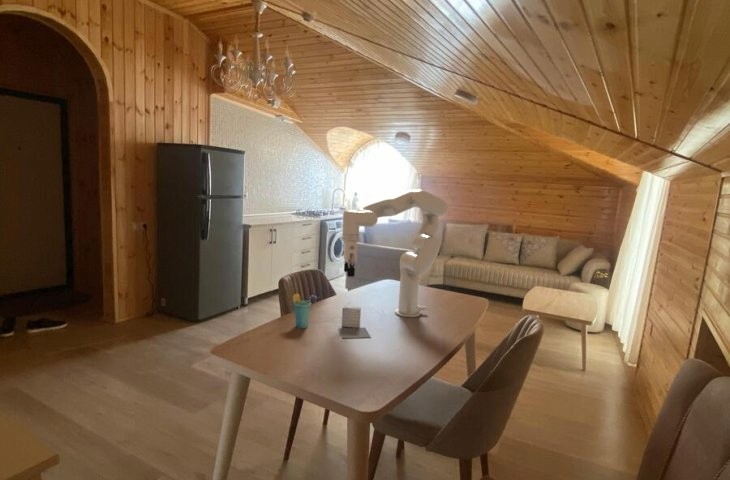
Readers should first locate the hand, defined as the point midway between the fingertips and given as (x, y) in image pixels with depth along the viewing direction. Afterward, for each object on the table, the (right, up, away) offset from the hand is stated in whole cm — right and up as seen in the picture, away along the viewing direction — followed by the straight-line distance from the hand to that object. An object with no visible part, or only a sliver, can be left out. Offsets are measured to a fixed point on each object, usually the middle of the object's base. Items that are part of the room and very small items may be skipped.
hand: (349, 273), depth 183 cm
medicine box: (+1, -23, -6) cm, 24 cm away
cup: (-20, -23, -8) cm, 31 cm away
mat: (+3, -24, -14) cm, 28 cm away
